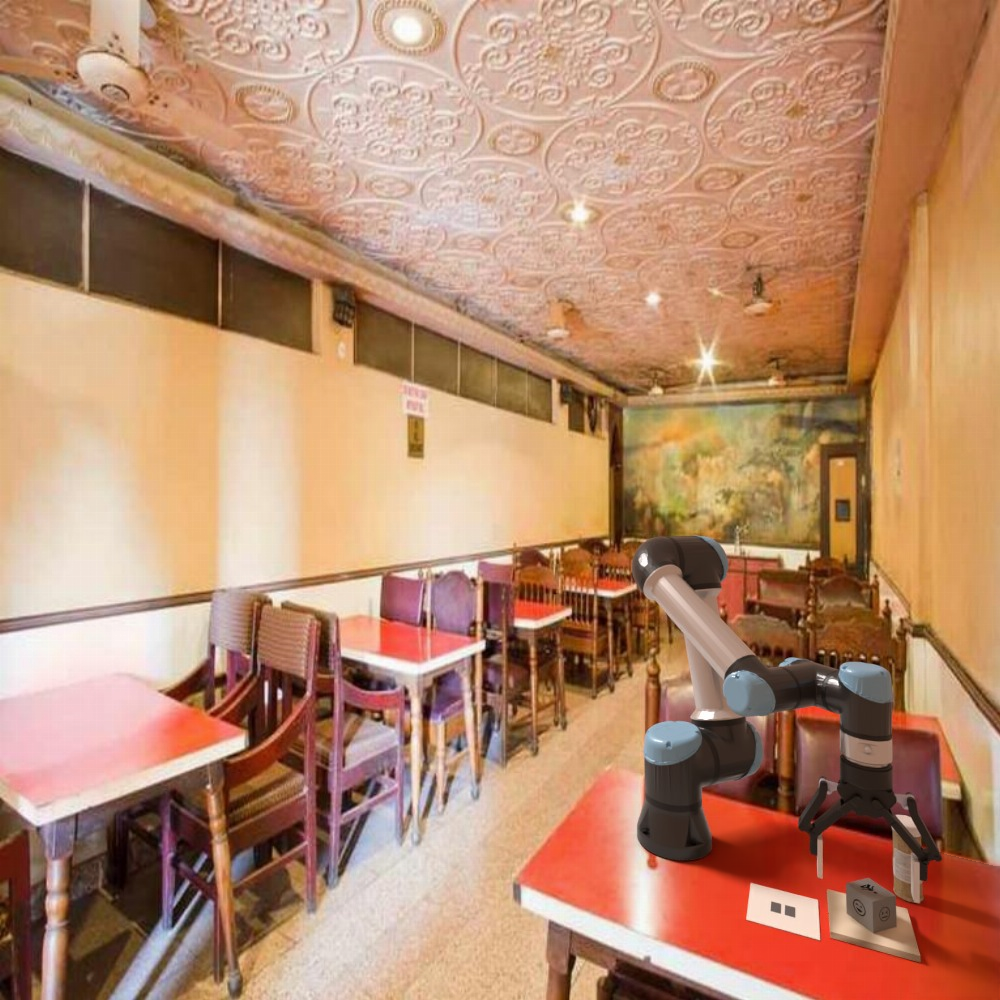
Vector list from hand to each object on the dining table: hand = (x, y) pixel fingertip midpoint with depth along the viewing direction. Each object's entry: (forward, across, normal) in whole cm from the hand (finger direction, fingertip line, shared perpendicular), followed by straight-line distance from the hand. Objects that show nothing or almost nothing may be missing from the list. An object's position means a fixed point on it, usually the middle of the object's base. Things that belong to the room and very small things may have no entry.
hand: (866, 885), depth 98 cm
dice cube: (+6, +1, 0) cm, 6 cm away
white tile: (+7, -12, -2) cm, 14 cm away
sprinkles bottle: (+7, +8, +12) cm, 15 cm away
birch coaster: (+6, 0, 0) cm, 6 cm away
